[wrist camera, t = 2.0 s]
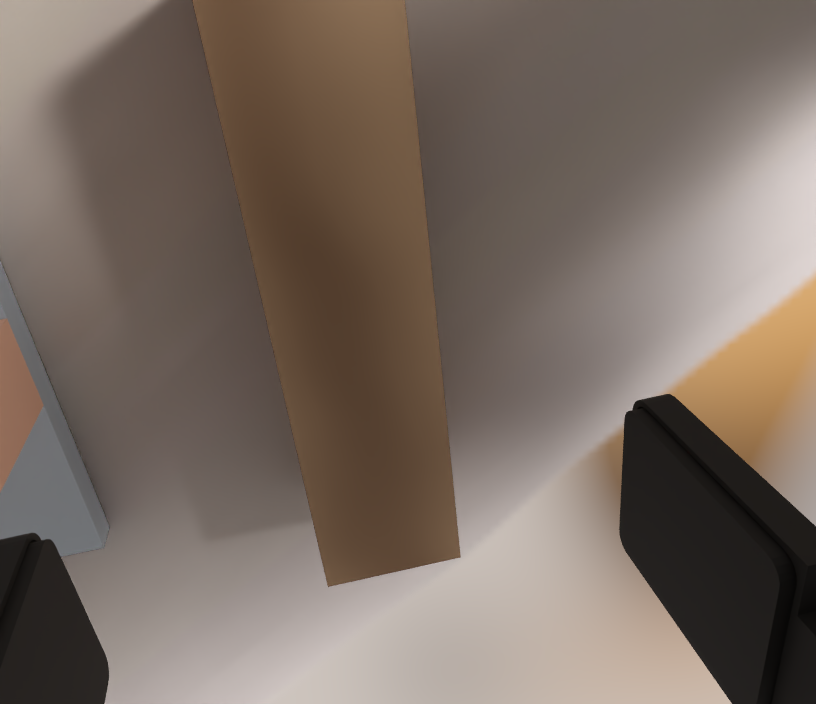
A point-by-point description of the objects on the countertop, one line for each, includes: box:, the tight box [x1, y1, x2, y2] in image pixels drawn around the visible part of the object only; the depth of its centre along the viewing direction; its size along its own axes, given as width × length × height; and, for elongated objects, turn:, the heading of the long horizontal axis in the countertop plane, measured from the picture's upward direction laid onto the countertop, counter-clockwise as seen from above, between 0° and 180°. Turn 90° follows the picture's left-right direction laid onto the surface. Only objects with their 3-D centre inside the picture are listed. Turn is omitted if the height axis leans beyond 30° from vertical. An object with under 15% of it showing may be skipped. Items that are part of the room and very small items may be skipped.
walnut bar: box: [192, 0, 460, 587], centre depth 19 cm, size 4×16×5 cm, turn 6°
